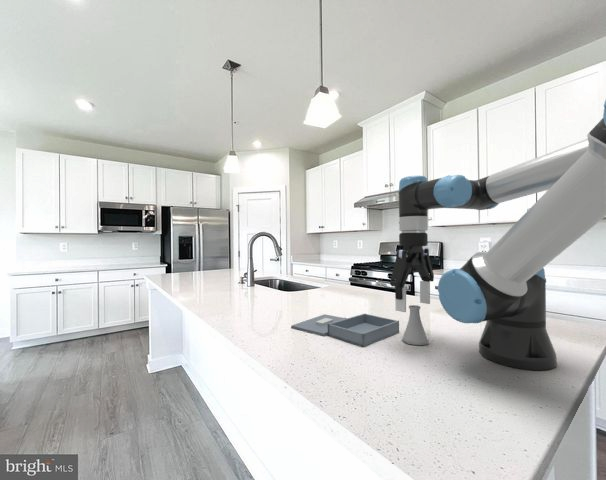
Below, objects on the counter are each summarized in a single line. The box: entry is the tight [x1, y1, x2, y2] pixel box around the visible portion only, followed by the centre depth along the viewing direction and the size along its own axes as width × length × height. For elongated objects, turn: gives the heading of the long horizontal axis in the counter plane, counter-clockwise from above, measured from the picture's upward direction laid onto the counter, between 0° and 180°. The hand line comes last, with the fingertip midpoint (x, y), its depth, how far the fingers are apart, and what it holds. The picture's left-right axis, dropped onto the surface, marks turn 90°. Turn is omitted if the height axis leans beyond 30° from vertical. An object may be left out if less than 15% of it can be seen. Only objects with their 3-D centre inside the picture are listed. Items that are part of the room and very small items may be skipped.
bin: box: [327, 313, 400, 348], centre depth 90 cm, size 13×18×4 cm
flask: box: [401, 304, 429, 346], centre depth 83 cm, size 7×7×10 cm
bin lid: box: [290, 313, 347, 337], centre depth 100 cm, size 14×19×2 cm
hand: (413, 307), depth 84 cm, fingers open, 13 cm apart
